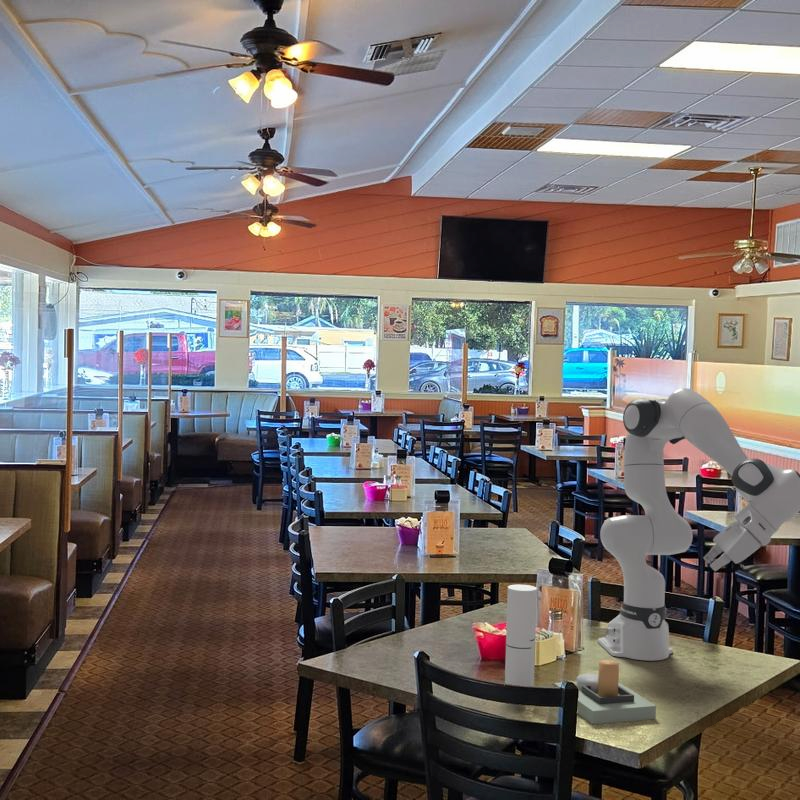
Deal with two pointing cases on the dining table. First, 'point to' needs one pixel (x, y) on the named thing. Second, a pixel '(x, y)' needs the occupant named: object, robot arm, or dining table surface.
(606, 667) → the orange cylinder
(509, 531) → the dining table surface
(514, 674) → the cylindrical container
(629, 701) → the stepped grey tray
